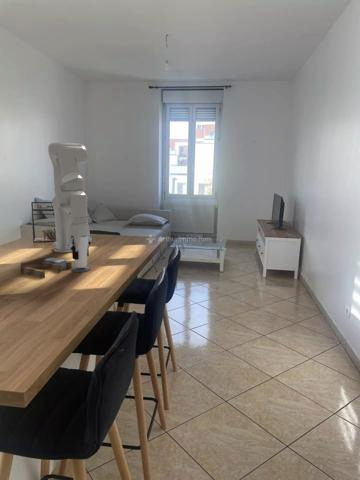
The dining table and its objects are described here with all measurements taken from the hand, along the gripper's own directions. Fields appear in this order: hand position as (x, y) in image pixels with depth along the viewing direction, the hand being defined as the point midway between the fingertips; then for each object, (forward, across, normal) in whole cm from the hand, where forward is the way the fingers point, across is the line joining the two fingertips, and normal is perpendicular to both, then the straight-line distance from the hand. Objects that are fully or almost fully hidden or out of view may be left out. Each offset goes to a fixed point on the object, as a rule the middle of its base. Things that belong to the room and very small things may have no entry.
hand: (80, 257), depth 167 cm
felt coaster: (+6, 0, 0) cm, 6 cm away
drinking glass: (+5, 0, 0) cm, 5 cm away
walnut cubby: (+6, +10, -11) cm, 16 cm away
